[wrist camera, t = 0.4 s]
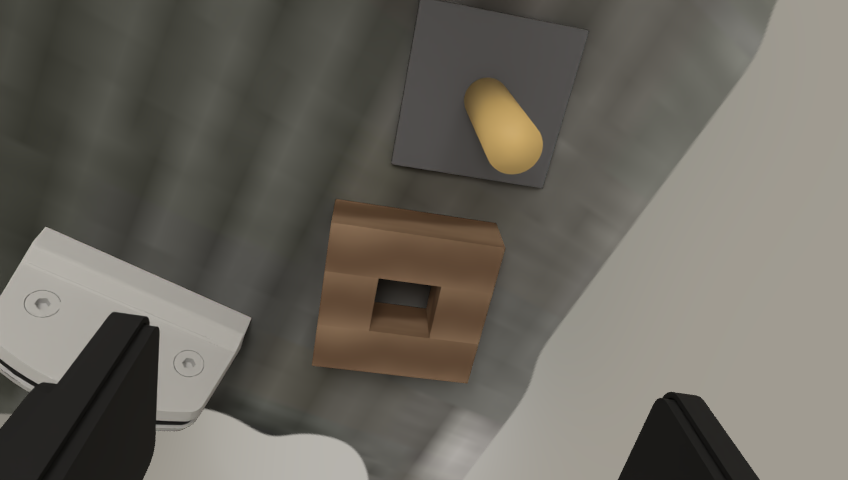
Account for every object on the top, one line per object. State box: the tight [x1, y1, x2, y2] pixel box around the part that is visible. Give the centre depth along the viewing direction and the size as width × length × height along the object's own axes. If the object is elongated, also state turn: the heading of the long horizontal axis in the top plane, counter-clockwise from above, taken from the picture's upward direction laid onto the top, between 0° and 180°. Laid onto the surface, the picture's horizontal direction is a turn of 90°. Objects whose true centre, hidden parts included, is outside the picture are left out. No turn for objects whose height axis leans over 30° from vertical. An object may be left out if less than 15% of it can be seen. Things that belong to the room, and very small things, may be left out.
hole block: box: [312, 199, 505, 383], centre depth 46 cm, size 12×12×4 cm
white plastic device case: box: [0, 227, 251, 431], centre depth 44 cm, size 17×5×10 cm, turn 58°
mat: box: [392, 0, 589, 188], centre depth 41 cm, size 11×11×1 cm
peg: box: [464, 78, 543, 174], centre depth 36 cm, size 3×3×10 cm
